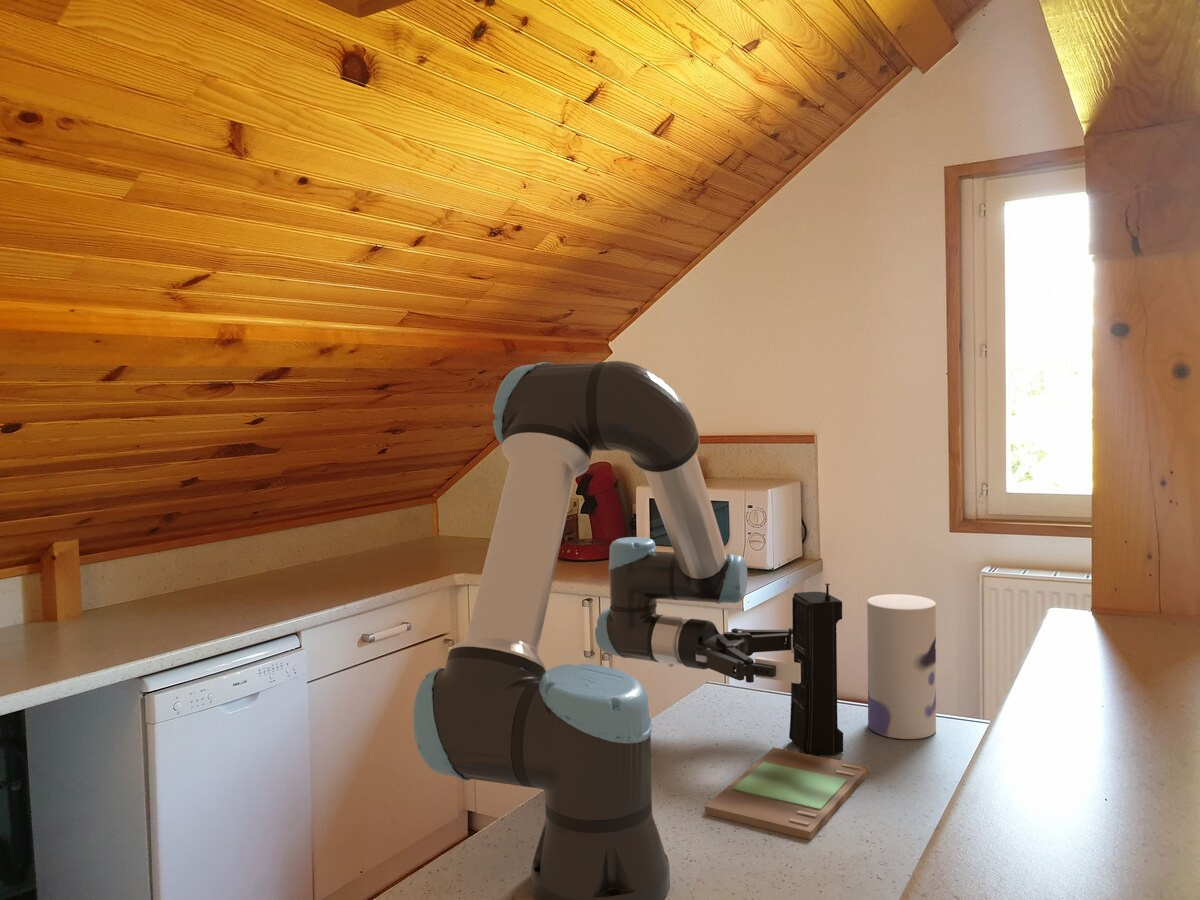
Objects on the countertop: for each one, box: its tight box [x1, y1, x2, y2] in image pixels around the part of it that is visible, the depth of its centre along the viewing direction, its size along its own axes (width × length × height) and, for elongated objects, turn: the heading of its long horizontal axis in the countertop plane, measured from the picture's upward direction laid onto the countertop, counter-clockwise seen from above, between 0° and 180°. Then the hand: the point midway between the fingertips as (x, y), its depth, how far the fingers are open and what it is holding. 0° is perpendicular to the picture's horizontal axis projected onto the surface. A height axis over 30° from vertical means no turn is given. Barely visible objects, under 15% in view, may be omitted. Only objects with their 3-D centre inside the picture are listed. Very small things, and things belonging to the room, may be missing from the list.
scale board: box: [704, 747, 870, 841], centre depth 128 cm, size 22×14×1 cm, turn 147°
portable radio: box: [788, 583, 844, 757], centre depth 143 cm, size 8×6×25 cm
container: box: [866, 593, 937, 740], centre depth 149 cm, size 10×10×20 cm
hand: (817, 660), depth 141 cm, fingers open, 13 cm apart
